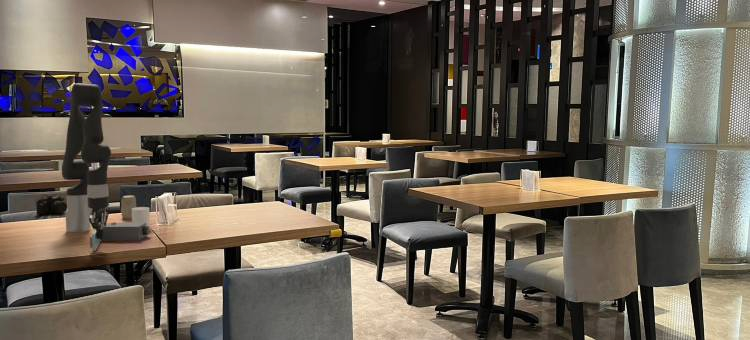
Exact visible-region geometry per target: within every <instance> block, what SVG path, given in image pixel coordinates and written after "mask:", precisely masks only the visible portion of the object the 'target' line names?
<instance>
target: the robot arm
mask: <svg viewBox="0 0 750 340" xmlns="http://www.w3.org/2000/svg"><path fill="white" fill-rule="evenodd" d="M102 100H103V97H102V90H101V87H100V86H99V85H98V84H93V83H92V84H91V83H82V82H81V83H77V82H76V83H73V85H72V86H71V90H70V109H69V120H68V124H67V131H66V140H65V141H66V142H65V150H64V154H63V156H64V157H63V161H62V165H61V175H62V178H63V180H65V181H66V180H67V181H77V180H78V181H79V180H80V181H79V182H78V183H77V184H75V185H73V186H69V187H68V188H67V189H66V204H67V210H66V211H65V212H64V214H65V232H66V233H73V234H74V233H75V234H76V233H78V234H79V233H85V232H89V231H92V230H96V237H97V239H102V238H104V232H103V229H104V226H106V224H108V220H109V215H110V214H109V212H107V209H106V208H109V206H110V200H109V199H110V198H109V196H110V195H109V186H108V185H109V184H108V169H109V168H108V167H109V165H110V160H111V157H112V150H111V148H110V146H109V145H106V144H102V143H103V142H104V131H103V126H102V125H103V123H102V116H103V113H102V109H103V105H102ZM81 106H83V107H84V106H85V107H93V108H92V110H91V112H90V113H88V116H87V117H85V116H84V114H83V113H82V111H81V109H80V108H81ZM79 154H80V158H81V159H76V158H77V156H78V155H79ZM96 163H97V164H100V165H99V166H98V167H96V168H91V169H90V164H96ZM90 209H91V210H90ZM91 227H92V230H91Z"/></svg>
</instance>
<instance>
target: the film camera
mask: <svg viewBox="0 0 750 340" xmlns="http://www.w3.org/2000/svg"><path fill="white" fill-rule="evenodd" d="M65 200H66V198H64V197H62V196H61V195H57V194H47V196H45V197H41V198H38V200H36V202H35V203H36V204H35V205H36V216H43V215H49V214H53V213H54V214H65V212H66V211H67V202H65Z"/></svg>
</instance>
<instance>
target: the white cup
mask: <svg viewBox="0 0 750 340" xmlns="http://www.w3.org/2000/svg"><path fill="white" fill-rule="evenodd" d="M131 210H132V219H131V220H132V222H131V223H146V226H149V227H150V211H151V210H150V207H147V206H139V207H137V206H136V208H132V209H131Z"/></svg>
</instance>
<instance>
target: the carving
mask: <svg viewBox="0 0 750 340" xmlns="http://www.w3.org/2000/svg"><path fill="white" fill-rule="evenodd" d="M136 207H137V198H136V196H135V195H124V196H122V198H121V208H120V210H121V213H120V214H121V217H122V219H125V220H132V210H131V209H132V208H136Z"/></svg>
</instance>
